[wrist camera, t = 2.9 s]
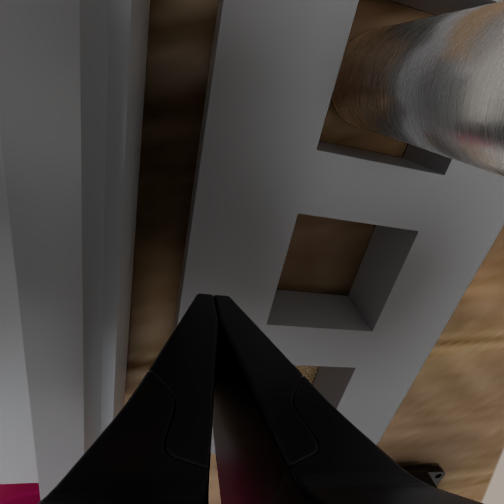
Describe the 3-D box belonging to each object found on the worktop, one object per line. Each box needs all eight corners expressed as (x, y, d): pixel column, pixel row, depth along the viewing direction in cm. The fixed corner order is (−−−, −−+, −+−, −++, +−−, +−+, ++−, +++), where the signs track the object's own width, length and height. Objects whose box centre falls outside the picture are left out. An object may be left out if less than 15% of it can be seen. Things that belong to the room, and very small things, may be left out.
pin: (393, 134, 13) (717, 238, 5) (319, 117, 12) (559, 208, 4) (427, 42, 11) (945, -18, 4) (346, 18, 11) (768, -122, 3)
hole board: (354, 408, 20) (374, 449, 18) (162, 407, 18) (158, 455, 15) (554, 4, 11) (639, -11, 9) (234, -114, 9) (248, -174, 7)
